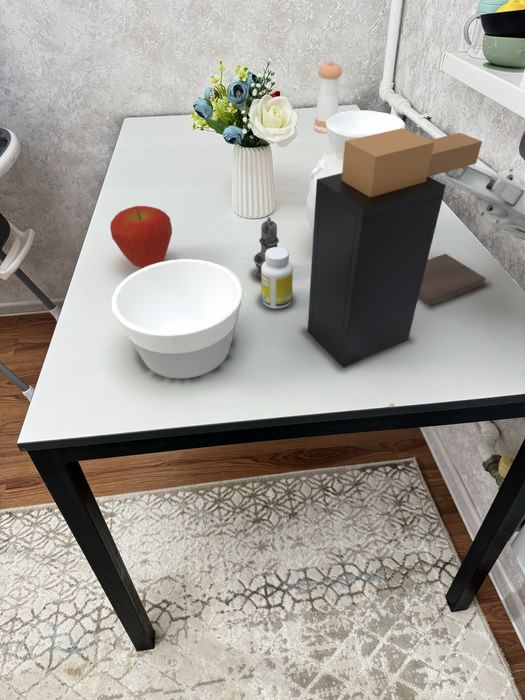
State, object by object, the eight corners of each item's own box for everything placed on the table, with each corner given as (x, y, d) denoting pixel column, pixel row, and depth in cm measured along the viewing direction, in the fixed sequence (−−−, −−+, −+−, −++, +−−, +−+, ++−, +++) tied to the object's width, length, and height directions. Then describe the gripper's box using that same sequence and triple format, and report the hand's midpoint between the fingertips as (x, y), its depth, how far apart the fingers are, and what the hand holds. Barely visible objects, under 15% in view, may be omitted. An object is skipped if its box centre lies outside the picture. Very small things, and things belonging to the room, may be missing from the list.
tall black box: (408, 340, 79) (446, 185, 62) (342, 368, 75) (364, 209, 57) (369, 307, 86) (393, 159, 68) (307, 331, 81) (316, 179, 64)
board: (483, 284, 91) (485, 278, 90) (430, 306, 86) (432, 299, 85) (443, 260, 97) (445, 253, 96) (392, 278, 93) (394, 271, 92)
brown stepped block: (481, 166, 66) (493, 127, 63) (370, 197, 60) (376, 156, 56) (449, 152, 70) (458, 115, 67) (341, 180, 63) (344, 140, 60)
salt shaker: (327, 124, 158) (332, 57, 146) (342, 131, 154) (348, 61, 141) (309, 129, 156) (313, 60, 143) (324, 135, 151) (328, 65, 138)
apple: (118, 283, 93) (104, 225, 85) (122, 253, 101) (109, 198, 93) (177, 277, 94) (168, 219, 86) (176, 249, 102) (168, 193, 94)
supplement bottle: (295, 295, 89) (297, 247, 82) (286, 312, 85) (288, 263, 79) (267, 289, 90) (266, 242, 84) (257, 306, 87) (256, 258, 80)
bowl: (246, 310, 86) (243, 256, 79) (245, 389, 72) (242, 333, 64) (136, 312, 86) (124, 259, 79) (114, 393, 72) (96, 337, 64)
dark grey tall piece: (290, 271, 95) (291, 214, 87) (274, 286, 91) (274, 228, 83) (264, 263, 97) (263, 206, 89) (248, 277, 94) (245, 219, 85)
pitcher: (393, 278, 92) (420, 143, 76) (297, 268, 96) (302, 135, 79) (396, 231, 106) (419, 107, 89) (311, 223, 109) (318, 102, 92)
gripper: (471, 159, 84) (427, 129, 75) (579, 205, 71) (541, 175, 62) (450, 193, 87) (405, 169, 78) (550, 244, 73) (510, 221, 65)
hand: (466, 172), depth 70 cm, fingers open, 8 cm apart
